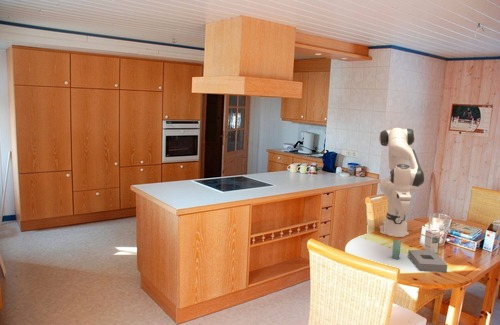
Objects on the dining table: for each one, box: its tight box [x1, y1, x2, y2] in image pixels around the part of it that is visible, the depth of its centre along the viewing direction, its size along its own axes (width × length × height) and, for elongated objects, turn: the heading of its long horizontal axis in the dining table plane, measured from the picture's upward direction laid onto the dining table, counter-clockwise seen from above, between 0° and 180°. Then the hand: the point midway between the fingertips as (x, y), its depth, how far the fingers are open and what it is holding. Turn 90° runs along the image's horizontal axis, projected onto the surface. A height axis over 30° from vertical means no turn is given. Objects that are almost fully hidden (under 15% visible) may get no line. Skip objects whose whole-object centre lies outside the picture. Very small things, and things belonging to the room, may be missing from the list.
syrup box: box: [423, 228, 441, 256], centre depth 232 cm, size 6×6×14 cm
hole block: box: [407, 249, 448, 273], centre depth 218 cm, size 20×14×4 cm
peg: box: [391, 239, 401, 260], centre depth 224 cm, size 4×4×10 cm
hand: (399, 217), depth 221 cm, fingers open, 8 cm apart
